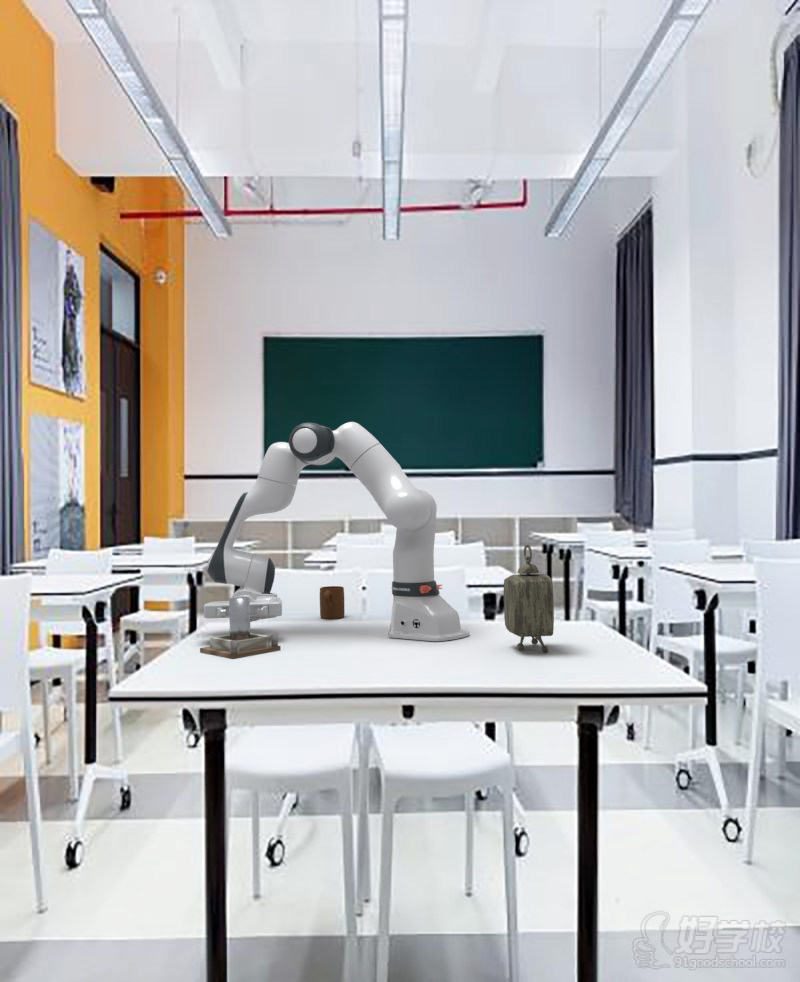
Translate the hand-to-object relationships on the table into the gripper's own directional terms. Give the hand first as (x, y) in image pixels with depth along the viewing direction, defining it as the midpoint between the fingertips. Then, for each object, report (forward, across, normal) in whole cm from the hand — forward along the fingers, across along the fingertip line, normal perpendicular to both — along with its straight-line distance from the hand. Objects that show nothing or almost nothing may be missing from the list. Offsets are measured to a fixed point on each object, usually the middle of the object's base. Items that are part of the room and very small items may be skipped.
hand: (241, 613), depth 216 cm
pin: (+6, 0, +8) cm, 10 cm away
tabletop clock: (+20, +69, +9) cm, 72 cm away
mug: (-44, +24, +9) cm, 51 cm away
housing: (+6, 0, +9) cm, 10 cm away
